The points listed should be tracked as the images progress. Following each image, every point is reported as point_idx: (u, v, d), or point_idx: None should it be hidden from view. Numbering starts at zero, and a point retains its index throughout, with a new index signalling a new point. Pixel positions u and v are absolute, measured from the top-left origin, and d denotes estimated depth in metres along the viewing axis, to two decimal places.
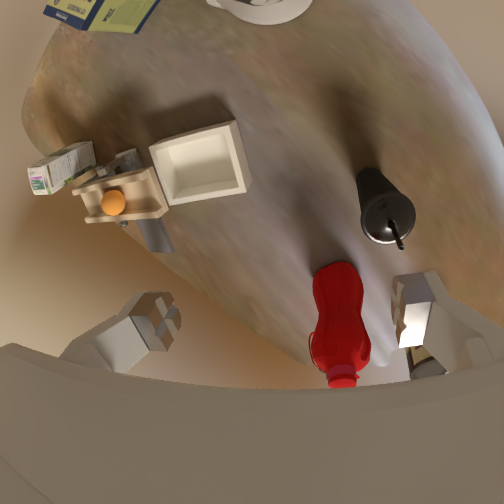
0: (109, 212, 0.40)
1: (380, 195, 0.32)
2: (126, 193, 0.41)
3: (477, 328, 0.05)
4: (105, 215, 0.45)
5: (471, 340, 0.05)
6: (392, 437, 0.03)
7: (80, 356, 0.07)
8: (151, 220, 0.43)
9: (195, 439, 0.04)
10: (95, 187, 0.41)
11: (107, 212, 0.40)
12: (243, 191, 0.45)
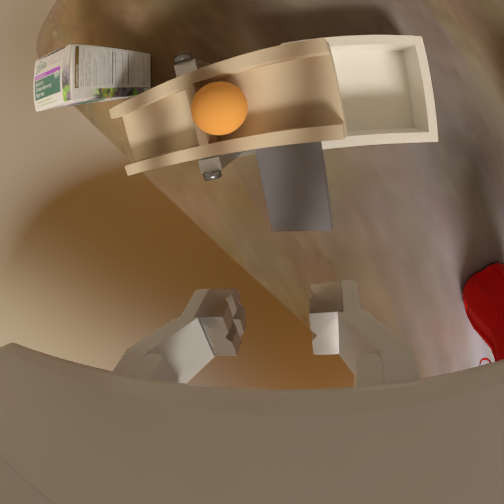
0: (215, 119, 0.17)
1: None
2: (248, 96, 0.19)
3: (378, 344, 0.06)
4: (180, 150, 0.22)
5: (365, 356, 0.06)
6: (392, 437, 0.03)
7: (145, 368, 0.07)
8: (302, 155, 0.20)
9: (195, 439, 0.04)
10: (172, 85, 0.19)
11: (209, 119, 0.17)
12: (434, 139, 0.22)
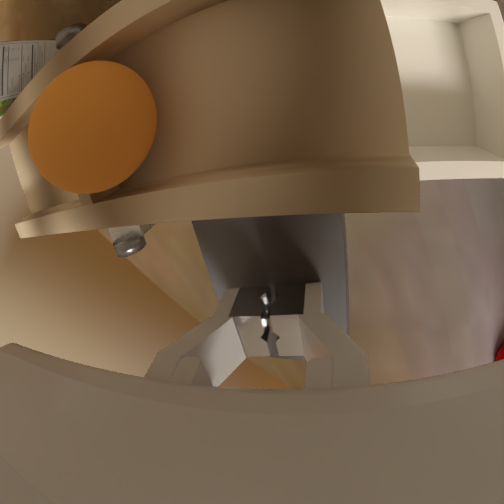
0: (59, 165, 0.06)
1: None
2: (166, 89, 0.08)
3: (332, 348, 0.06)
4: (63, 208, 0.11)
5: (316, 360, 0.06)
6: (392, 437, 0.03)
7: (182, 373, 0.06)
8: (295, 230, 0.09)
9: (195, 439, 0.04)
10: (35, 89, 0.07)
11: (49, 167, 0.06)
12: None
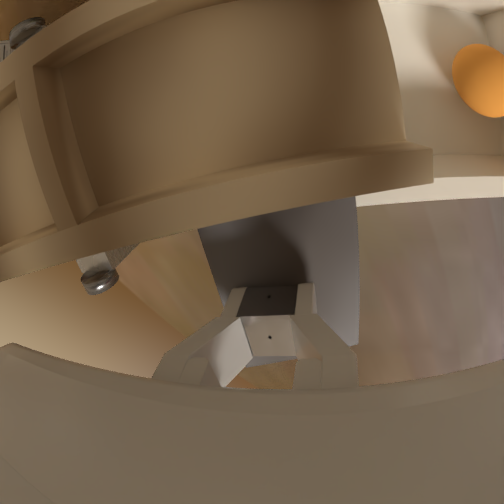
0: None
1: None
2: (172, 82, 0.07)
3: (322, 348, 0.06)
4: (22, 242, 0.08)
5: (305, 360, 0.06)
6: (392, 437, 0.03)
7: (190, 374, 0.06)
8: (314, 221, 0.09)
9: (195, 439, 0.04)
10: None
11: None
12: None
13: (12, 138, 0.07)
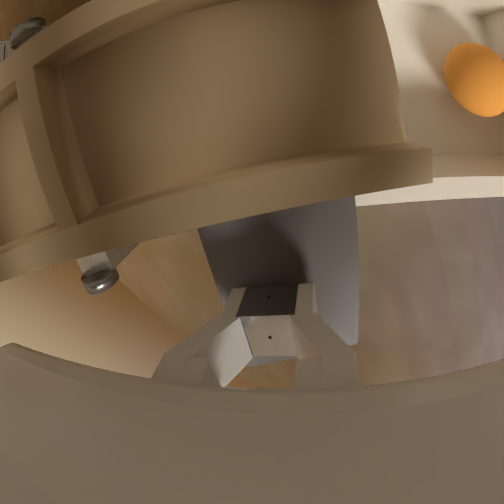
0: None
1: None
2: (173, 82, 0.07)
3: (322, 348, 0.06)
4: (23, 242, 0.08)
5: (305, 360, 0.06)
6: (392, 437, 0.03)
7: (190, 374, 0.06)
8: (314, 221, 0.09)
9: (195, 439, 0.04)
10: None
11: None
12: None
13: (13, 138, 0.07)
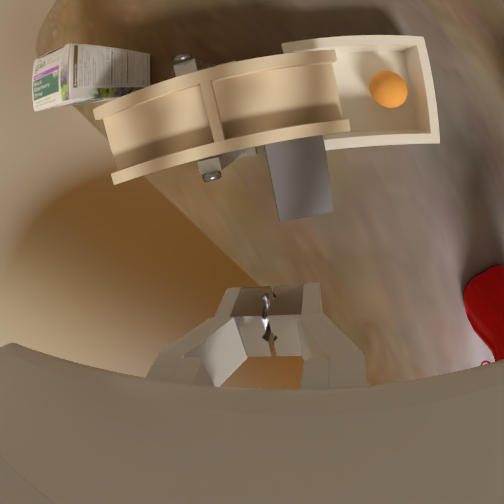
0: None
1: None
2: (260, 96, 0.21)
3: (329, 348, 0.06)
4: (187, 149, 0.21)
5: (313, 360, 0.06)
6: (392, 437, 0.03)
7: (183, 373, 0.06)
8: (308, 148, 0.23)
9: (195, 439, 0.04)
10: (184, 81, 0.19)
11: (406, 95, 0.22)
12: (436, 141, 0.22)
13: (181, 106, 0.21)
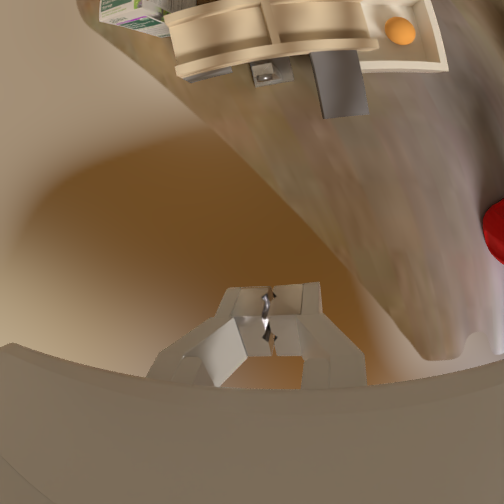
0: None
1: None
2: (306, 18, 0.21)
3: (329, 348, 0.06)
4: None
5: (313, 360, 0.06)
6: (392, 437, 0.03)
7: (183, 373, 0.06)
8: (346, 60, 0.23)
9: (195, 439, 0.04)
10: None
11: None
12: (445, 69, 0.22)
13: (242, 20, 0.21)
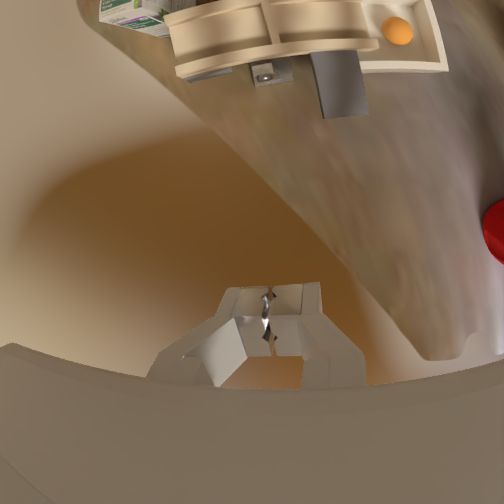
0: (412, 35, 0.23)
1: None
2: (306, 18, 0.21)
3: (329, 348, 0.06)
4: None
5: (313, 360, 0.06)
6: (392, 437, 0.03)
7: (183, 373, 0.06)
8: (346, 60, 0.23)
9: (195, 439, 0.04)
10: None
11: (412, 34, 0.22)
12: (445, 69, 0.22)
13: (242, 20, 0.21)
